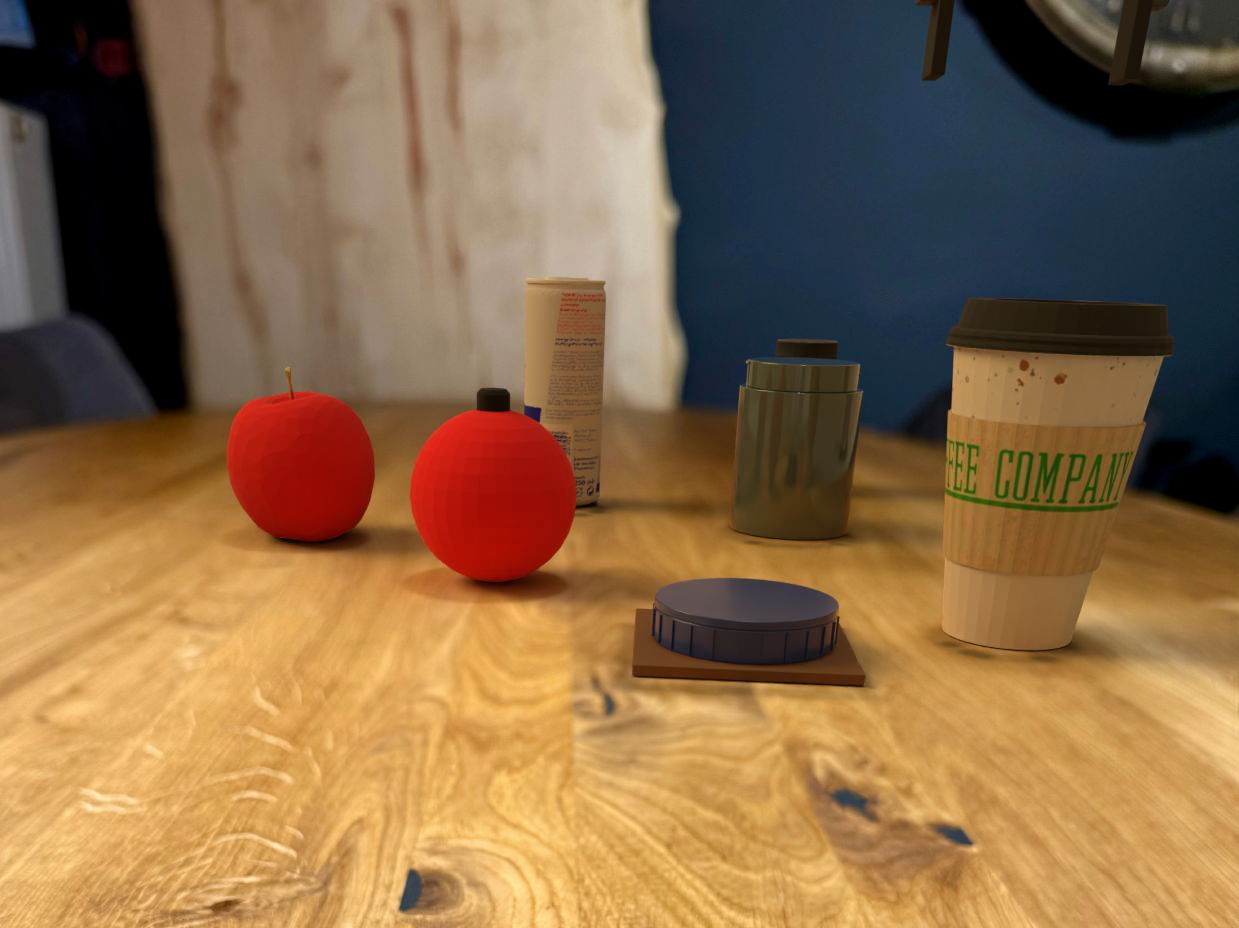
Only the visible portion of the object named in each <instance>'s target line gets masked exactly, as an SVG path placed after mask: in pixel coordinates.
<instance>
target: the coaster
mask: <svg viewBox="0 0 1239 928" xmlns="http://www.w3.org/2000/svg"><path fill="white" fill-rule="evenodd" d="M652 616H653V608H642V607H641V608H640V607H638V608H635V620H634V637H633V651H632V666H631V668H632V669H631V676H634V677H635V676H637V677H657V678H658V677H659V678H681V679H701V680H702V679H703V680H704V679H706V680H726V681H727V680H728V681H748V682H750V681H751V682H773V683H774V682H775V683H794V684H795V683H796V684H798V683H799V684H817V685H840V686H841V685H843V686H862V687H863V686H864V685H865V682H866V674H865V672H864V670H863V668H862V666H861V664H860V662H859V659H858V658H857V655H856V654H855V652H854V650H853V648H852V646H851V644H850V642H849V639H848V638H847V636H846V634H845V632H844V630H843V628H842V626H841V623H839V627H838V635H837V643H836V644H835V645H834V648H833V650H832V651H831V652H830V653H828V654H826V655H824V656H822V657H820V658H816V659H813V660H809V661H804V662H797V663H789V664H774V665H752V664H733V663H724V662H716V661H709V660H704V659H699V658H695V657H690V656H687V655H683V654H680V653H677V652H674V651H671V650H669V649H667V648H665V647H663V646H661V645H660V644H659V643H658V642H656V640H655V639H654V637H653V636H652Z"/></svg>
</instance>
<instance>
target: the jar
mask: <svg viewBox="0 0 1239 928" xmlns="http://www.w3.org/2000/svg"><path fill="white" fill-rule="evenodd" d="M745 365H747V373H746V383H742V384H740V385H739V394H738V407H737V421H736V435H735V447H734V459H733V469H732V470H733V471H732V472H733V473H732V484H731V494H730V495H731V496H730V508H729V519H728V520H729V521H728V526H729V528H731V529H732V530H734V531H735V532H738V533H740V534H745V535H749V536H754V537H760V538H768V539H778V540H793V541H795V540H796V541H813V540H814V541H817V540H828V539H829V540H830V539H834V538H839V537H843V536H845V535H846V534H847V532H848V527H849V519H850V509H851V501H852V494H853V485H854V475H855V467H856V459H857V452H858V451H857V450H858V443H859V435H860V434H859V433H860V426H861V417H862V410H863V409H862V408H863V402H864V401H863V400H864V392H865V391H864V389H862V388H859V382H860V381H859V380H860V377H862V376H863V375H862V373H861V365H862V364H861V363H860V362H857V361H853V360H845V359H836V360H835V359H821V358H799V357H776V356H761V357H751V358H748V359H747V360H746V361H745Z"/></svg>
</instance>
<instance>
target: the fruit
mask: <svg viewBox="0 0 1239 928" xmlns="http://www.w3.org/2000/svg"><path fill="white" fill-rule="evenodd" d="M284 374H285V378H286V381H287V388H288V392H285V393H280V394H273V395H268V396H263V397H257V398H254V399H251V400H249V401H248V402H247V403H245V404H243V405H242V407H241V409H239V411H237V413H236V415H235V416H234V419H233V421H232V424H231V427H230V430H229V434H228V440H227V449H226V467H227V472H228V477H229V482H230V486H231V488H232V490H233V494H234V496H235V498H236V500H237V501H238V503H239V504H240V506H241V508H242V510H243V511H244V513H246V515H247V516H248V517H249V518H250V519H251V521H252V522H253V523H254V524H255V525H256V526H257V528H259V529H260V530H262V531H264V532H265V533H266V534H268V535H270V536H273V537H274V538H278V539H286V540H288V539H289V540H296V541H302V542H308V543H311V542H316V543H317V542H322V541H328V540H333V539H335V538H337V537H339V536H341V535H343V534H345V533H348V532H349V531H351V530H353V529H355V528H356V526H358V524H359V523H360V522H361V521H362V520H363V517H364V516H365V514H366V512H367V511H368V508H369V505H370V502H371V499H372V494H373V491H374V485H375V480H376V467H375V466H376V465H375V452H374V449H373V448H374V447H373V444H372V441H371V438H370V435H369V434H368V431H367V429H366V427H365V425H364V423H363V420H362V419H361V418H360V417H359V415H358V414H357V413H356V412H355V411H354V410H353V408H352V407H350V406H349V405H348V404H347V403H345V402H344V401H343V400H341V399H339V398H337V397H335V396H332V395H328V394H325V393H324V394H323V393H319V392H316V391H315V392H314V391H310V390H307V391H306V390H305V391H294V389H293V384H292V367H291V366H286V367H285V369H284Z"/></svg>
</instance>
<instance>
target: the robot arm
mask: <svg viewBox="0 0 1239 928" xmlns="http://www.w3.org/2000/svg"><path fill="white" fill-rule="evenodd" d="M913 3H914V6H916V7H930V11H929V18H928V27H927V34H926V42H925V50H924V57H923V66H922V74H921V81H923V82H927V81H928V82H935V81H937V80H938V79H940V78H942V77H944V76H945V75H946V68H947V61H948V52H949V47H950V38H951V31H952V22H953V15H954V14H953V13H954V10H955V9H954V8H955V0H913ZM1169 3H1170V0H1123V1H1122V7H1121V12H1120V16H1119V17H1120V18H1119V23H1118V29H1117V35H1116V39H1115V45H1114V51H1113V56H1112V62H1111V67H1110V73H1109V78H1108V83H1107V85H1108V86H1124V85H1126V84H1129V83H1132V82H1134V81H1137V80H1139V77H1140V72H1141V67H1142V62H1143V56H1144V52H1145V45H1146V40H1147V35H1148V30H1149V25H1150V20H1151V15H1152V12H1158V11H1161V10H1162V9H1164V8H1166V7H1168V5H1169Z"/></svg>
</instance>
